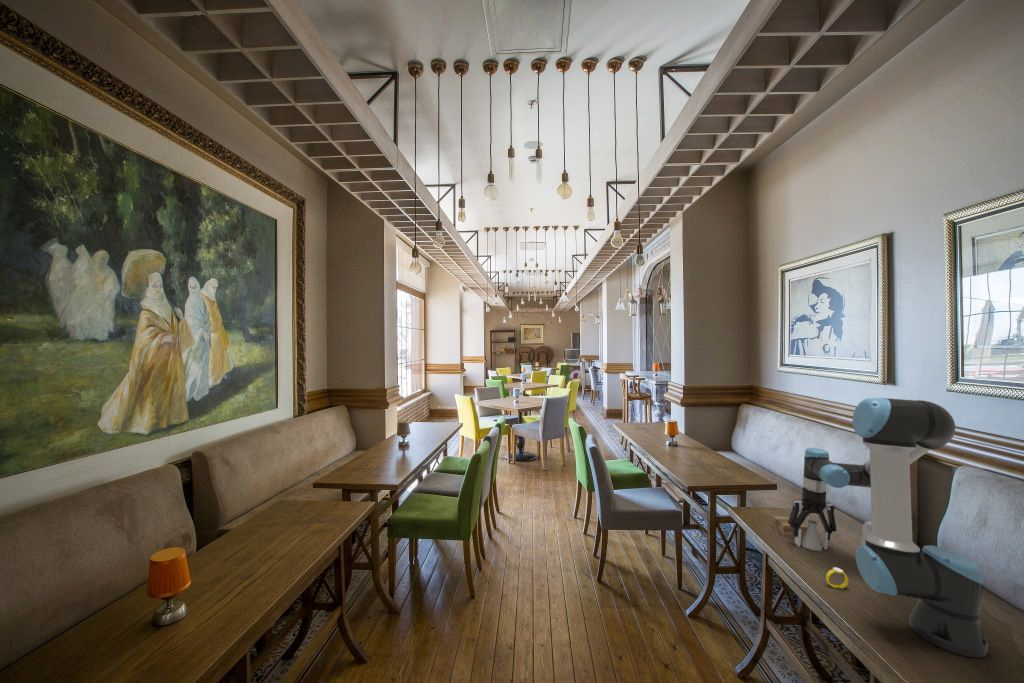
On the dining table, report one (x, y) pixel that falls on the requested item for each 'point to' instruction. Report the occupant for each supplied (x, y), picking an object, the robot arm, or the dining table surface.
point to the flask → (811, 537)
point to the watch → (838, 573)
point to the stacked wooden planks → (786, 527)
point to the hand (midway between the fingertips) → (810, 546)
